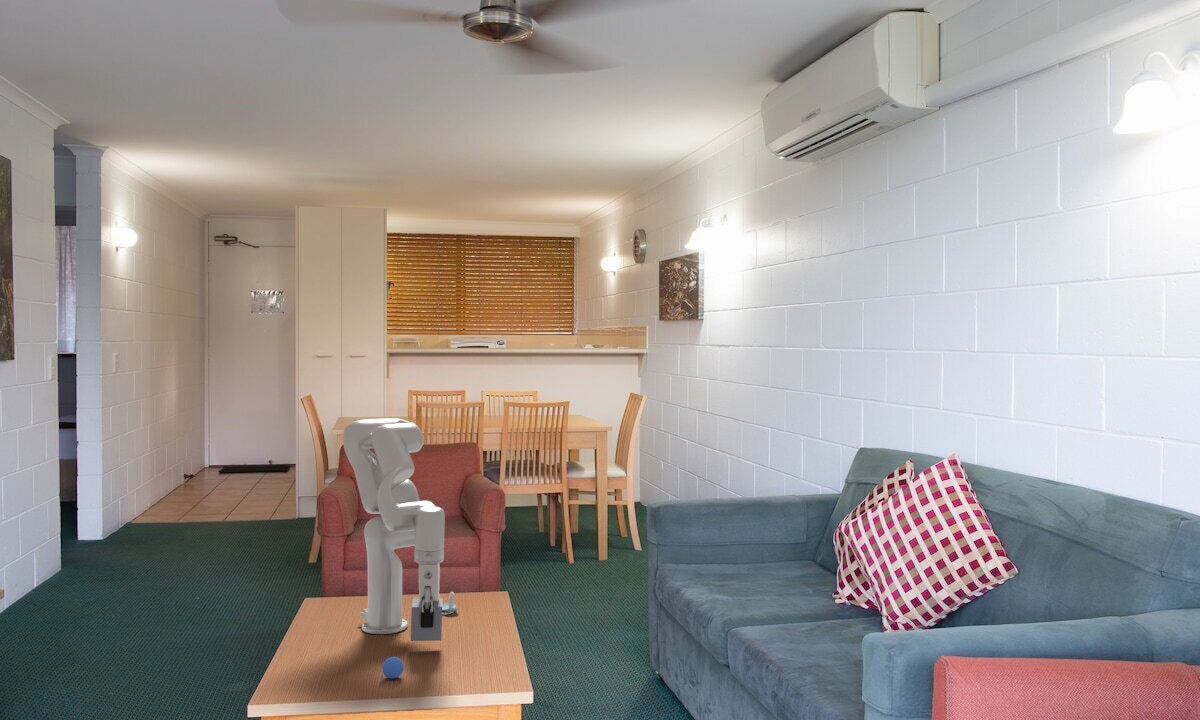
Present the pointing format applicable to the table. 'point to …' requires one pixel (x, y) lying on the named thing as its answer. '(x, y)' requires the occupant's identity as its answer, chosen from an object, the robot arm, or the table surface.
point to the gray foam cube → (416, 629)
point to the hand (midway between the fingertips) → (427, 621)
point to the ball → (392, 667)
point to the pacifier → (449, 605)
